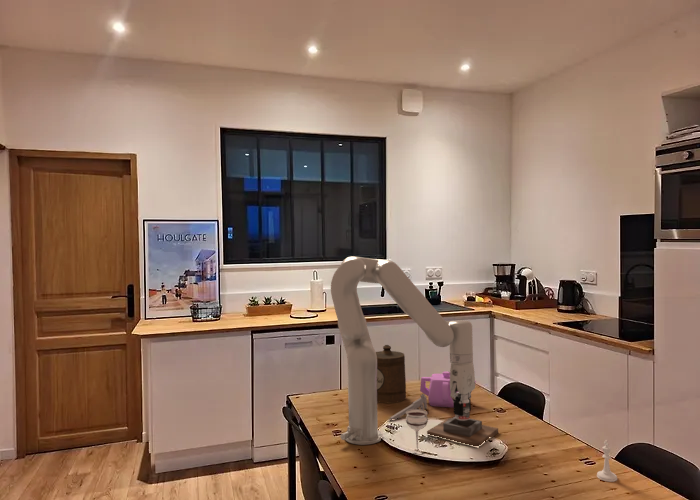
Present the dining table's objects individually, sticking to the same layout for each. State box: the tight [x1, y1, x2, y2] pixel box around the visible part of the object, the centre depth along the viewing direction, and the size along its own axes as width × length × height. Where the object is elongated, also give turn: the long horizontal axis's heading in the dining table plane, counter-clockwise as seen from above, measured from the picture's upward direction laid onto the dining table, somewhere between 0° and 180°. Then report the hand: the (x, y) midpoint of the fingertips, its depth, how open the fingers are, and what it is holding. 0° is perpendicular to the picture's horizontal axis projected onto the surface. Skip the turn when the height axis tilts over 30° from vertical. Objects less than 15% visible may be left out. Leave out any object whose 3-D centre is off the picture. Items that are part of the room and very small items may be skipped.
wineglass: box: [405, 408, 429, 450], centre depth 155 cm, size 7×7×12 cm
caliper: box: [388, 393, 428, 420], centre depth 189 cm, size 20×1×6 cm, turn 131°
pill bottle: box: [454, 392, 471, 421], centre depth 168 cm, size 5×5×8 cm
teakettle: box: [419, 370, 477, 408], centre depth 202 cm, size 17×17×12 cm
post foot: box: [426, 416, 499, 446], centre depth 168 cm, size 16×18×4 cm
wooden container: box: [375, 344, 407, 404], centre depth 210 cm, size 15×15×22 cm
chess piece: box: [596, 439, 618, 483], centre depth 136 cm, size 5×5×10 cm
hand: (462, 411), depth 168 cm, fingers closed on pill bottle, 4 cm apart
